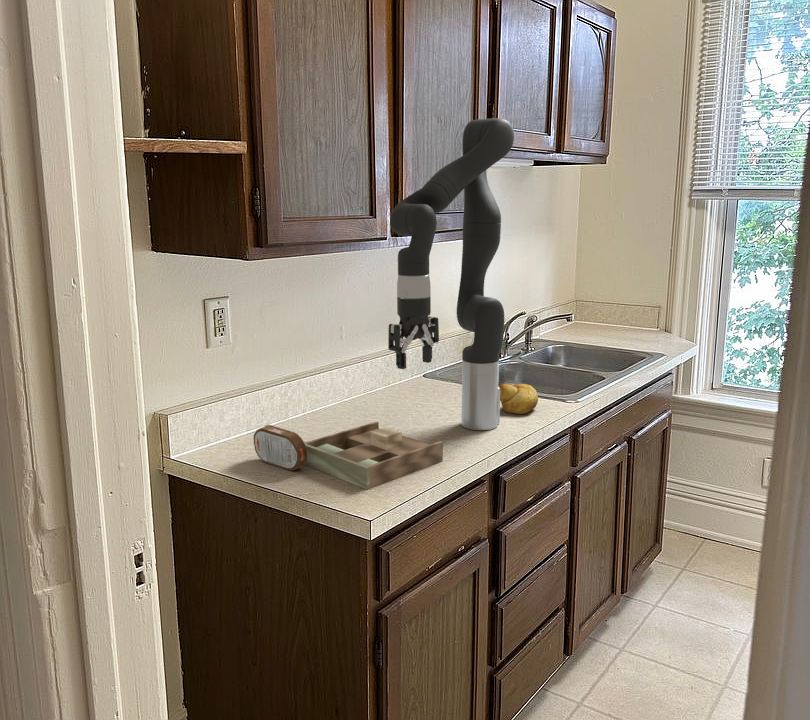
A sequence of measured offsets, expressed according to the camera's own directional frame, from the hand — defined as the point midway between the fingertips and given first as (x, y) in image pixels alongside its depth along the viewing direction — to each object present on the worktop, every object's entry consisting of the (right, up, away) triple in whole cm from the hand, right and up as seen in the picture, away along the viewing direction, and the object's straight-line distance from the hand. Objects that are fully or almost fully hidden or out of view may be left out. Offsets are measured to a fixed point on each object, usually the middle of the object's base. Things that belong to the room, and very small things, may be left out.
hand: (414, 365), depth 173 cm
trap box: (-9, -21, -5) cm, 24 cm away
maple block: (-6, -18, -3) cm, 19 cm away
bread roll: (+30, -13, +35) cm, 48 cm away
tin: (-30, -22, -7) cm, 38 cm away
